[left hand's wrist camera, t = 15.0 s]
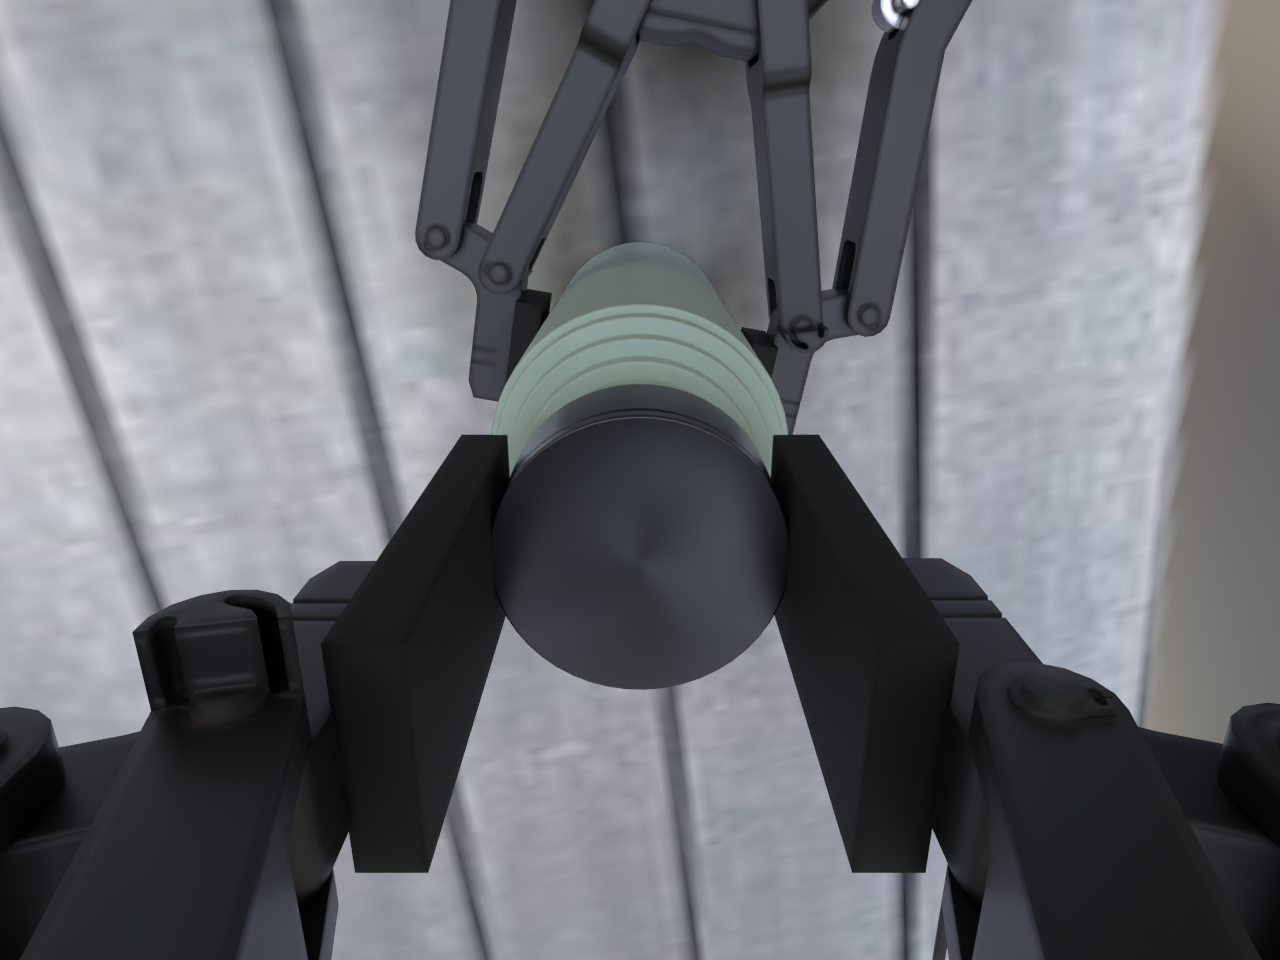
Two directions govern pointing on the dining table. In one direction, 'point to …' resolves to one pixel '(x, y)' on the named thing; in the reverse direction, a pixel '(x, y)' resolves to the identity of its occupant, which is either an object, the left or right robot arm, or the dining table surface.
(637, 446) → the cap
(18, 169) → the dining table surface
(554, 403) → the bottle
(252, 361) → the dining table surface
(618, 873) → the dining table surface
